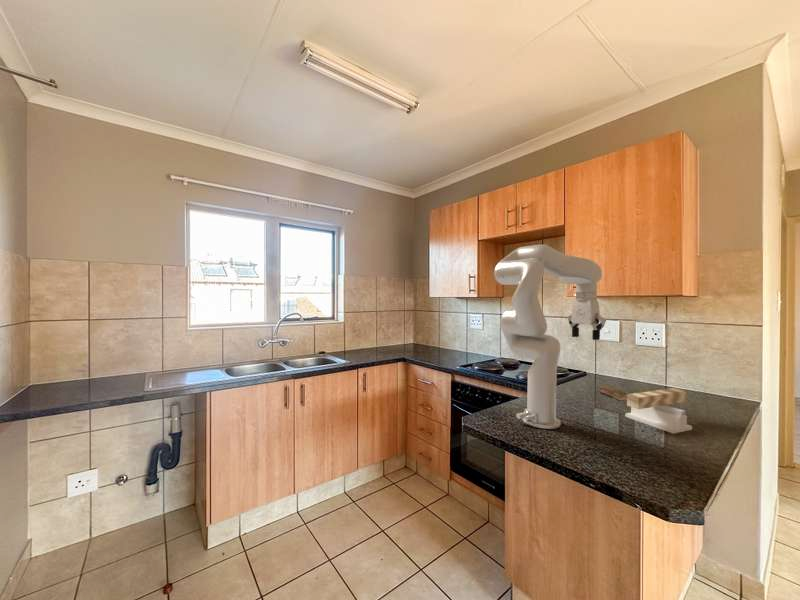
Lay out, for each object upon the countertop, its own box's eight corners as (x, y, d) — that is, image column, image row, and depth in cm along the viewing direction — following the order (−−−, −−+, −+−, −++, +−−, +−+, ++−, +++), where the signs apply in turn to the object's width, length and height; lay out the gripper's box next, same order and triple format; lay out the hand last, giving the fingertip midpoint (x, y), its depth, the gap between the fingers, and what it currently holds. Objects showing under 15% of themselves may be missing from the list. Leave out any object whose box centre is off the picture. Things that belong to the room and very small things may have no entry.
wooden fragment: (635, 403, 141) (635, 400, 141) (606, 400, 144) (606, 397, 144) (616, 387, 165) (616, 385, 165) (591, 385, 169) (591, 383, 169)
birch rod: (638, 409, 111) (638, 397, 111) (626, 405, 115) (627, 394, 115) (686, 401, 120) (686, 390, 120) (674, 398, 124) (674, 387, 124)
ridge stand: (673, 433, 109) (673, 412, 109) (625, 416, 124) (625, 398, 124) (692, 429, 112) (692, 409, 112) (643, 413, 127) (643, 395, 127)
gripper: (562, 296, 141) (561, 336, 141) (598, 296, 125) (597, 341, 125) (575, 296, 144) (574, 335, 144) (612, 297, 127) (611, 340, 128)
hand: (585, 338), depth 134 cm, fingers open, 9 cm apart
